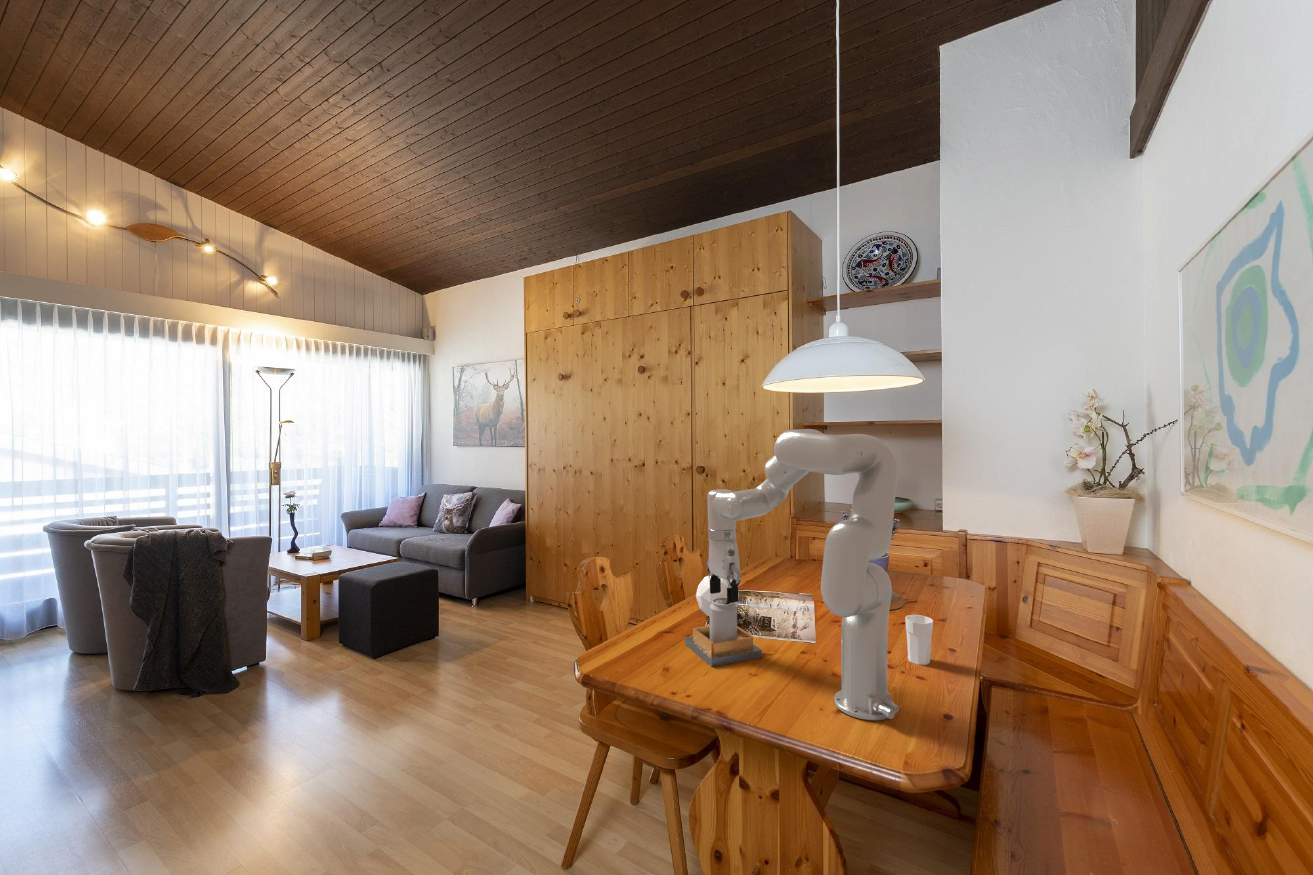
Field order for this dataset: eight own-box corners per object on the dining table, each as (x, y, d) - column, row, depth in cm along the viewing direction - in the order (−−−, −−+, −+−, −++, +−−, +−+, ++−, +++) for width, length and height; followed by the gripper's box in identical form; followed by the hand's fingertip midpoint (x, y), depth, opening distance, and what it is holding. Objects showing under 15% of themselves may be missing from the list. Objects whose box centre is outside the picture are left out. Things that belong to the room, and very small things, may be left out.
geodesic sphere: (690, 588, 193) (694, 562, 184) (731, 587, 195) (737, 560, 186) (696, 627, 182) (701, 601, 173) (740, 625, 183) (747, 599, 174)
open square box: (761, 657, 151) (761, 638, 151) (711, 666, 145) (711, 647, 145) (731, 636, 166) (731, 619, 166) (685, 644, 160) (685, 626, 160)
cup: (906, 653, 153) (906, 613, 152) (933, 658, 150) (933, 617, 149) (904, 663, 147) (904, 621, 147) (932, 668, 144) (932, 625, 143)
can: (736, 650, 151) (736, 605, 151) (708, 648, 152) (707, 604, 152) (737, 639, 158) (737, 597, 158) (711, 637, 160) (710, 595, 159)
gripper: (750, 538, 148) (752, 604, 148) (719, 529, 164) (720, 588, 164) (725, 541, 145) (727, 608, 145) (695, 531, 161) (697, 591, 161)
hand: (723, 597), depth 155 cm, fingers open, 9 cm apart
